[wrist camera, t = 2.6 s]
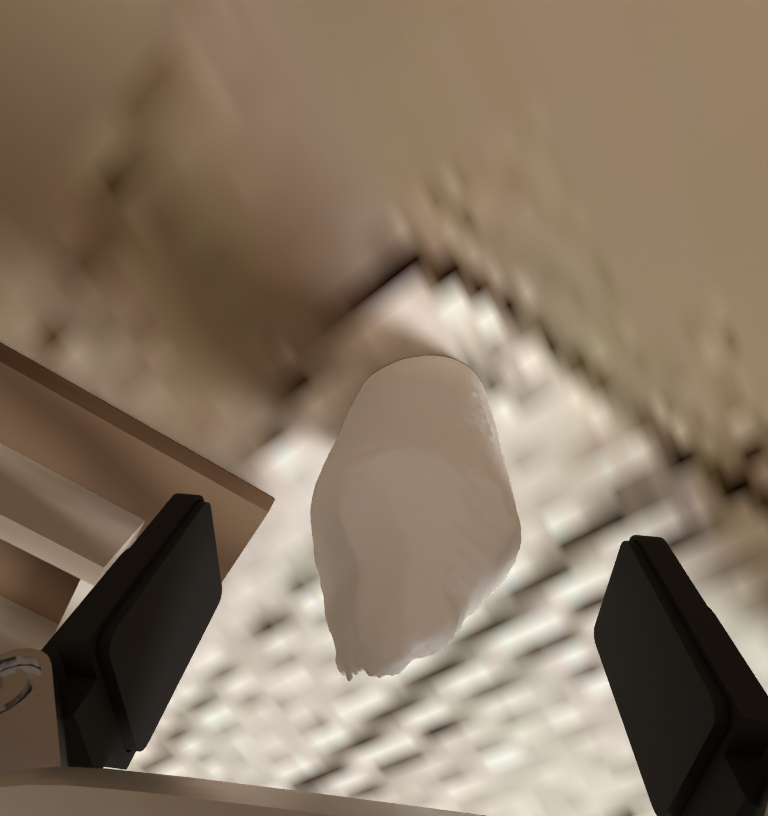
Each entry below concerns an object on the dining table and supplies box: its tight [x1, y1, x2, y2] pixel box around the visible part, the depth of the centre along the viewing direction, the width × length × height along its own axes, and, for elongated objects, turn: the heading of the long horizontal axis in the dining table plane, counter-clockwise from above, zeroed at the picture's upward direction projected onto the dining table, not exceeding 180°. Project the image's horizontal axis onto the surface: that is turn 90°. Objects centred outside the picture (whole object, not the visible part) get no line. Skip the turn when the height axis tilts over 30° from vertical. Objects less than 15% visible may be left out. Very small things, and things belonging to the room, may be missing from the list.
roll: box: [310, 355, 521, 681], centre depth 14 cm, size 6×12×6 cm
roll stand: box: [0, 343, 275, 654], centre depth 22 cm, size 18×18×4 cm
